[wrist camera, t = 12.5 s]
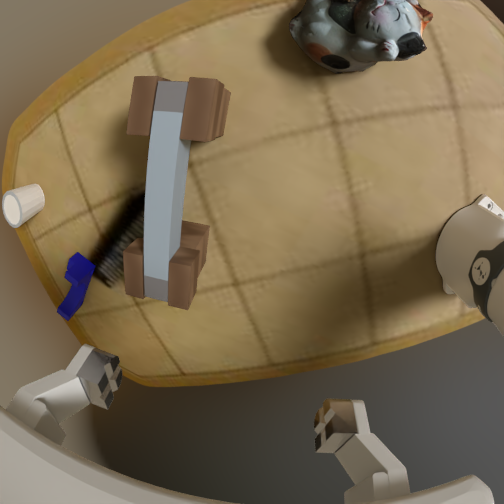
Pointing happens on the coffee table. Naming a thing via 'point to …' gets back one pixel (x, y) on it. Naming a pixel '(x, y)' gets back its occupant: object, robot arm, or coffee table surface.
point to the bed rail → (164, 187)
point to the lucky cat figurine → (359, 32)
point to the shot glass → (22, 204)
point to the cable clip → (76, 284)
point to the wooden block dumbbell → (192, 234)
